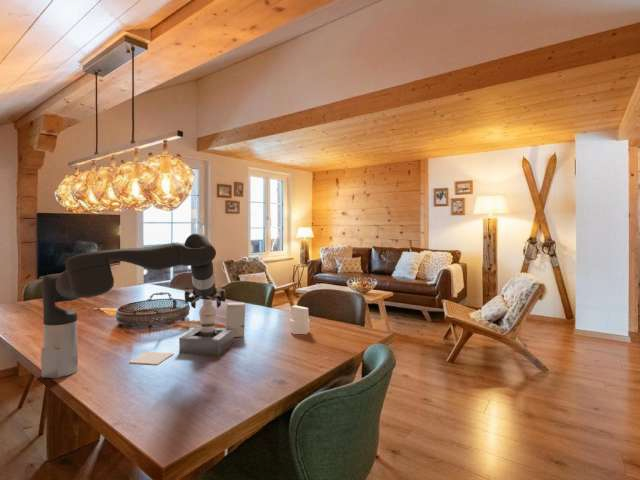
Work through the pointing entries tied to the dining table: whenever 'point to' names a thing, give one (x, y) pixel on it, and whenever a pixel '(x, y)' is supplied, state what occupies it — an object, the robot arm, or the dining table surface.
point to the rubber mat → (151, 358)
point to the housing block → (206, 342)
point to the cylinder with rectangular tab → (299, 320)
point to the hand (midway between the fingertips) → (206, 306)
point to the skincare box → (236, 317)
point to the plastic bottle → (207, 319)
